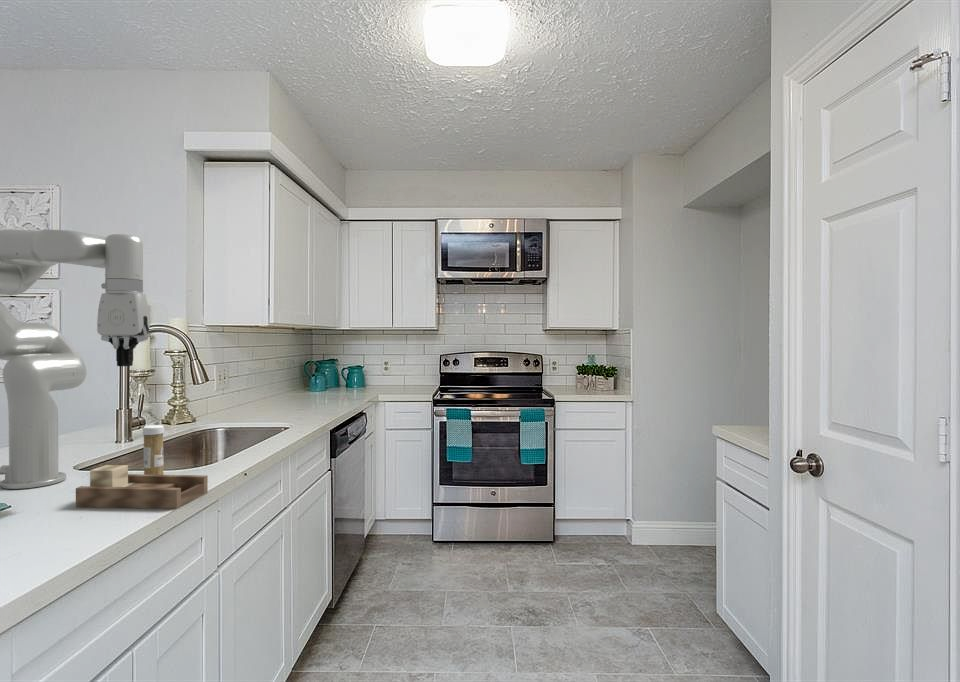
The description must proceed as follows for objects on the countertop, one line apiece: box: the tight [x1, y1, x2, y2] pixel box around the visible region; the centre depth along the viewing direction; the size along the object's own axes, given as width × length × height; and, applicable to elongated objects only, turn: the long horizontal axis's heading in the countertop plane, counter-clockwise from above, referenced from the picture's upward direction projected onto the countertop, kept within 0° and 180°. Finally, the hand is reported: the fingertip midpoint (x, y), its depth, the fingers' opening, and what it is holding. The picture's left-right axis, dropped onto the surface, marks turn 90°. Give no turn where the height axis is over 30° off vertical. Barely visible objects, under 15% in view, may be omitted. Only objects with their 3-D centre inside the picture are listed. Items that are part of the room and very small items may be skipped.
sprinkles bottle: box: [142, 424, 165, 475], centre depth 141 cm, size 5×5×14 cm
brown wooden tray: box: [75, 473, 209, 510], centre depth 124 cm, size 22×12×4 cm, turn 87°
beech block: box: [89, 464, 129, 487], centre depth 124 cm, size 5×5×4 cm
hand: (124, 365), depth 132 cm, fingers closed
